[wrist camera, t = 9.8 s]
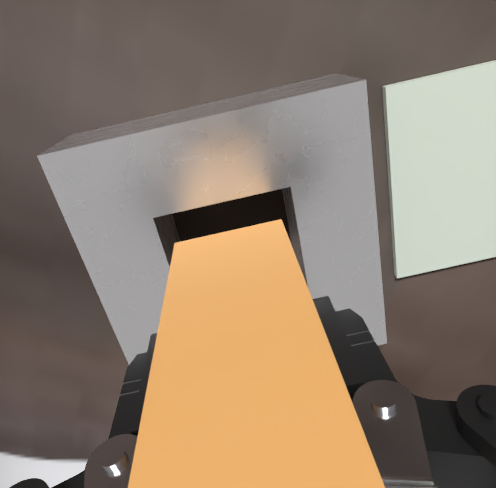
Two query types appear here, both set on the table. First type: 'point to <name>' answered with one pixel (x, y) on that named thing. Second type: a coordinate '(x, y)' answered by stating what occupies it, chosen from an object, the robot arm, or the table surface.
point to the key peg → (246, 376)
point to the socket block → (225, 194)
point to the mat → (442, 168)
